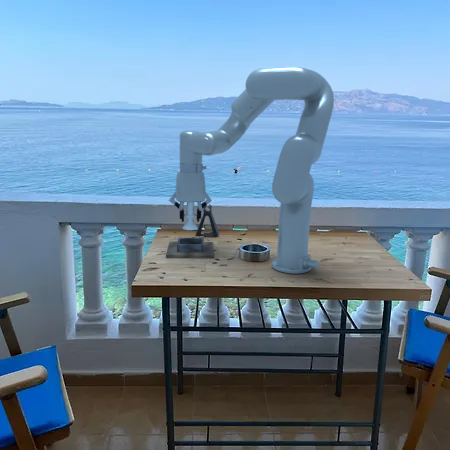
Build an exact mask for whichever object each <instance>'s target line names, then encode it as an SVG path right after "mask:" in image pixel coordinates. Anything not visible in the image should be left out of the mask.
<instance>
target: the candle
mask: <svg viewBox="0 0 450 450" xmlns="http://www.w3.org/2000/svg"><path fill="white" fill-rule="evenodd" d="M185 217H186V218H187V220H186V222H185V223H184V225H183V226H182V230H185V231H197V230H198V227H199V226H197V224H196V222H195V220H194V219H195V218H197V213H195V202H186V213H184V218H185Z"/></svg>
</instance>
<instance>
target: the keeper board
mask: <svg viewBox="0 0 450 450" xmlns="http://www.w3.org/2000/svg"><path fill="white" fill-rule="evenodd" d="M204 238H205V237H178V239H177V241H170V240H169V241H168V247H167V250H166V254H165V258H166V259H215V253H214V242H213V241H204Z"/></svg>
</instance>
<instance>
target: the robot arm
mask: <svg viewBox="0 0 450 450" xmlns="http://www.w3.org/2000/svg"><path fill="white" fill-rule="evenodd" d="M276 100H278V101H280V100H282V101H283V100H284V101H285V100H286V101H287V100H289V101H291V100H292V101H293V100H294V101H298V100H299V101H304V102H303V103H304V107H303V110H302V112H301V115H300V118H299V121H298V126H297V130H296V131H295V132H296V133H295V135H292V136H290V137H288V139H286V141H285V142H284V144H283V146H282V148H281V150H280V153H279V156H278V161H277V166H276V169H275V172H274V176H273V178H272V179H273V180H272V184H271V185H272V186H271V191H272V194H273V197H274V198H275V200H276V201H277V202H278V203H280V205H279V214H278V215H279V218H278V231H277V232H278V233H277V253H276V259H274V260H273V261H272V262H271V267H272V269H274V270H275V271H278V272H281V273H284V274H285V273H286V274H297V275H298V274H304V273H308V272H310V271H311V270H312V269H316V270H317V269H319V260H317V259H312V258H311V254H309V253H308V251H309V240H310V223H311V213H312V212H311V209H312V202H313V196H314V189H315V183H314V182H315V181H314V178H313V176H312V174H311V173H310V172H311V168H312V165H313V164H316V162H318V160H319V159H320V157H321V155H322V151H323V146H324V143H325V141H326V136H327V133H328V129H329V125H330V122H331V118H332V115H333V111H334V110H333V109H334V104H335V96H334V91H333V89H332V86H331V85H330V83H329V82H328V81H327V80H326V78H325V77H324V76H323V75H321V74H320V73H318V72H316V71H314V70H312V69H309V68H305V67H300V66H299V67H278V68H258V69H255V70H253V71H252V72H250V74H249V75H248V76H247V78H246V80H245V89H244V90H243V91H242V92H241V93H240V94H239V95H238V96H237V97H236V99H234V100H233V101H232V103H231V106H230V107H231V113H230V116H229V117H228V118H227V120H226V121H225V122H224V123H223V124H222V125H221V126H220V127H219V128H218V129H217V130H213V131H204V132H201V131H198V130H184V131H181V132H180V133H179V171H177V173H176V177H175V190H174V193H173V194H172V195H171V196H170V198H169V200H168V201H169V203H171V204H172V205H174V206H175V207H176V208H177V209H178V210H179V220H181V222H182V223H183V222H185V216H184V214H185V210H184V204H185V203H187V202H194V203H196V204H197V208H196V215H197V216H196V222H197V223H200V219H202V211H203V209H204V207H205V206H206V205H207V206H208V205H209V204H211V202H212V198H211V197H210V196H209V194H208V193H207V192H206V191H207V190H206V188H207V187H206V178H205V172H204V171H203V170H206V169H207V164H203V156H214V155H220V154H223V153H226V152H227V151H229V150H230V149H231V148H232V147H233V146H234V145H235V144H236V143H237V142H238V141H239V140H240V139H241V138H242V137H243V136H244V135H245V133H246V132H247V130H248V129H249V127H250V126H251V124H252V123H253V122H254V121H255V120H256V119H257V118H258V117H259V116H260V115H261V114H262V113H263V112H264V111H265V110H266V109H267V108H268V107H269V106H270V105H271V104H272V103H273V102H274V101H276ZM175 199H176V200H175Z"/></svg>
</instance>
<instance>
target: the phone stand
mask: <svg viewBox="0 0 450 450" xmlns="http://www.w3.org/2000/svg"><path fill="white" fill-rule="evenodd" d="M207 206H208V207H207ZM206 208H208V209H209V210H207V209H206ZM212 208H213V206H212V204H211V203H209V204H207V205H206V206H205V207H204V208H203V209H202V212H203V214H202V216H201V220H200V221H199V225H198V226H197V227H198V229H196V232H195V235H194V237H196V236H204V237H203V238H217V237H218V238H219V235H220V234H219V233H220V232H219V231H220V230H219V228H218V227H217V222H216V220H215V218H214V215H213V212H212ZM206 217H208V219H209V223H210V227H211V230H212V232H211V231H210V232H211V233H204V234H201V232H202V230H203V227H204V223H205V219H206Z"/></svg>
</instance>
